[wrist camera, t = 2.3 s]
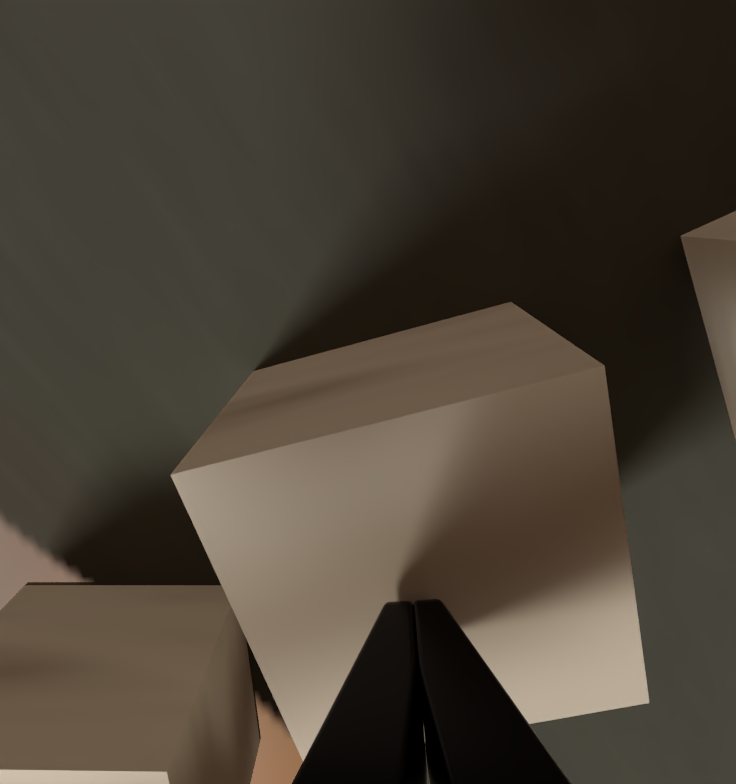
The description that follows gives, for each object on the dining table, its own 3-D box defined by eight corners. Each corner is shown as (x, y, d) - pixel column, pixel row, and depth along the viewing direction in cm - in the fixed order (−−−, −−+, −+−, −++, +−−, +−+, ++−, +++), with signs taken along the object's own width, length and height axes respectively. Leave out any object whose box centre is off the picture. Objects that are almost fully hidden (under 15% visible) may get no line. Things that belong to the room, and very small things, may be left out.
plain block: (551, 525, 13) (649, 703, 8) (330, 573, 14) (303, 763, 9) (509, 300, 11) (604, 365, 6) (254, 369, 12) (170, 474, 7)
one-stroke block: (260, 737, 16) (207, 966, 11) (74, 735, 16) (-59, 959, 11) (240, 582, 14) (164, 778, 9) (27, 582, 14) (-158, 774, 9)
